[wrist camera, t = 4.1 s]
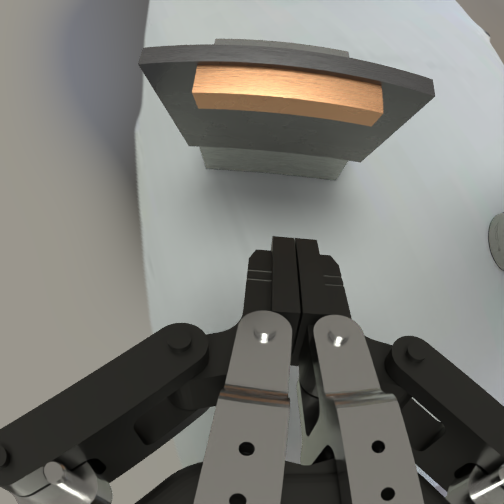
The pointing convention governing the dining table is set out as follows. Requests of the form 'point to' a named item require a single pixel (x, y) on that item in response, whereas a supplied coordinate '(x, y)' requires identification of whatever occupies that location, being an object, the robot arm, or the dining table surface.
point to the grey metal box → (272, 159)
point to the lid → (282, 98)
